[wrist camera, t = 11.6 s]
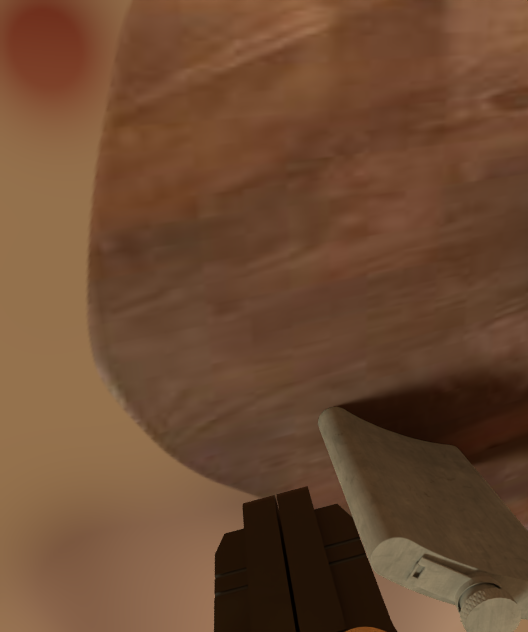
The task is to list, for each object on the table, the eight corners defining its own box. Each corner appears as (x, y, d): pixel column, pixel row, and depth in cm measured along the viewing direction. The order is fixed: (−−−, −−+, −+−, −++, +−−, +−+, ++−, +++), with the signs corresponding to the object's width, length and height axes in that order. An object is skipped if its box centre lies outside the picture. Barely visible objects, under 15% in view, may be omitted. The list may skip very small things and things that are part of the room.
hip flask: (466, 449, 50) (617, 623, 31) (448, 482, 51) (583, 670, 32) (326, 402, 47) (398, 562, 28) (309, 438, 48) (367, 616, 29)
